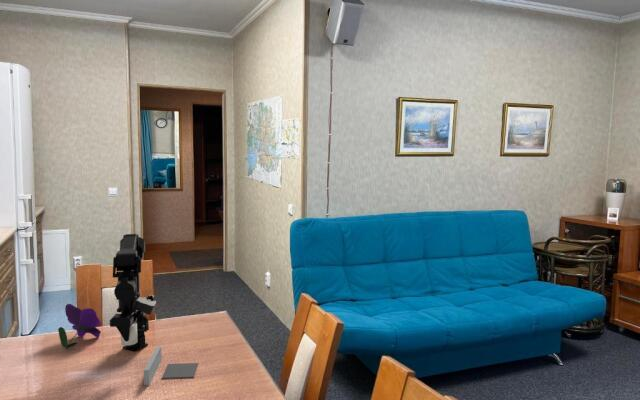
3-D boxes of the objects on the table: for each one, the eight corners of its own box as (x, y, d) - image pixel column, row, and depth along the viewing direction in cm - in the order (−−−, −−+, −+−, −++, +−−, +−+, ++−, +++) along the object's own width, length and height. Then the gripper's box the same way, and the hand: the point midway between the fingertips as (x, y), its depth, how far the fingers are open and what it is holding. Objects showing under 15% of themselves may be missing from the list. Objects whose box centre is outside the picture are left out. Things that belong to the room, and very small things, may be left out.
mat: (161, 378, 159) (161, 377, 159) (168, 365, 169) (168, 363, 169) (193, 377, 160) (193, 376, 160) (197, 364, 170) (197, 362, 170)
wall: (149, 385, 155) (148, 370, 154) (144, 385, 154) (143, 370, 154) (161, 360, 172) (161, 346, 172) (157, 360, 172) (156, 346, 172)
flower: (89, 362, 182) (109, 333, 193) (74, 334, 174) (96, 306, 184) (55, 358, 185) (77, 330, 196) (39, 330, 177) (62, 303, 188)
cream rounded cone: (117, 343, 160) (117, 325, 160) (129, 338, 165) (129, 321, 164) (129, 346, 158) (128, 328, 157) (140, 341, 163) (140, 323, 162)
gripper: (146, 299, 151) (147, 349, 153) (160, 282, 169) (161, 326, 171) (108, 300, 150) (110, 350, 152) (126, 283, 168) (127, 327, 170)
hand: (129, 337), depth 161 cm, fingers closed on cream rounded cone, 5 cm apart
